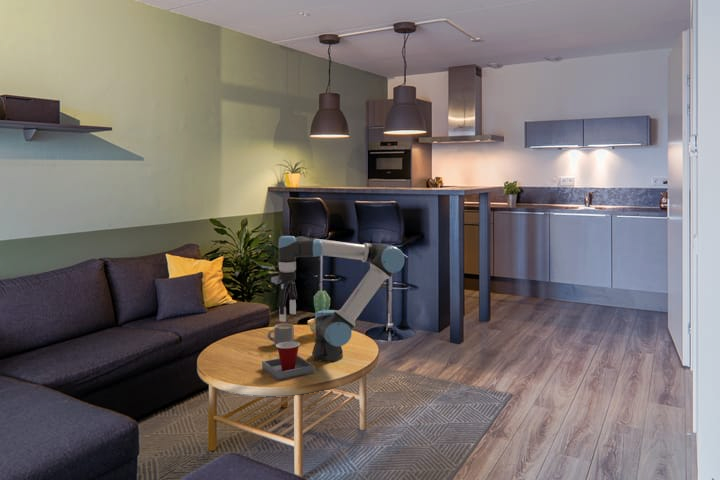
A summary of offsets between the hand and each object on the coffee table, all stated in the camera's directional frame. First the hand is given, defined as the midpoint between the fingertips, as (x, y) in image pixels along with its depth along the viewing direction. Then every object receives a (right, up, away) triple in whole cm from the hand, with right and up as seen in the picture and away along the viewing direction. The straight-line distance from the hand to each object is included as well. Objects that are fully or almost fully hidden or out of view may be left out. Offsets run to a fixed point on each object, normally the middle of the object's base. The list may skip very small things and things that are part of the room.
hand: (287, 317), depth 248 cm
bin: (0, -25, +2) cm, 25 cm away
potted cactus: (+11, -18, +59) cm, 63 cm away
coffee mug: (-9, -20, +42) cm, 47 cm away
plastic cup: (0, -24, +2) cm, 24 cm away
